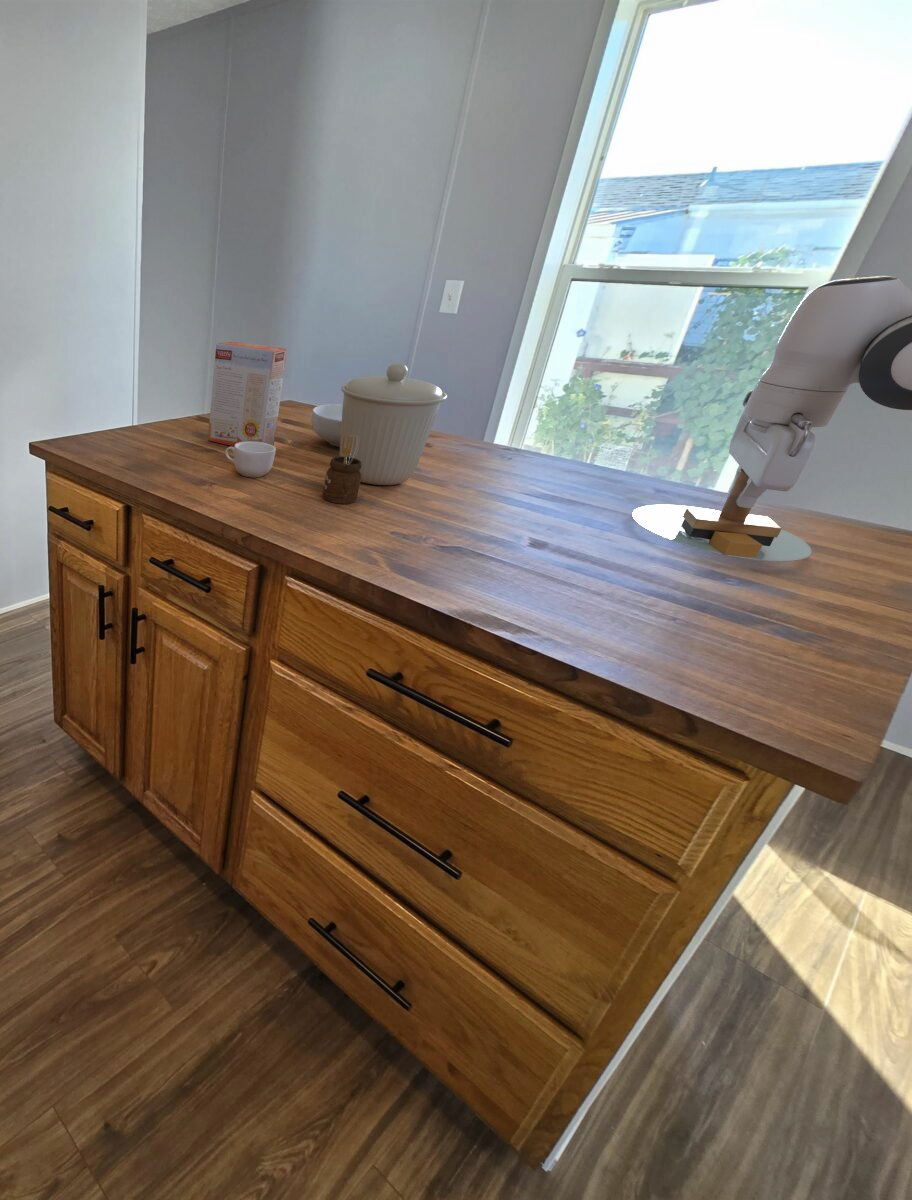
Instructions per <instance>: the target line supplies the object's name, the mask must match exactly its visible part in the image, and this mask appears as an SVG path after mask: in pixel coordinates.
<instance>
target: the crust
mask: <svg viewBox="0 0 912 1200" xmlns="http://www.w3.org/2000/svg"><path fill="white" fill-rule="evenodd" d="M709 544H710V545H712V546H713V547H715V548H716V549H717V550H719V551H720V552H722V553H723V554H725V555H724V556H729V555H736V556H746V557H756V556H757V554H758V553H759V551H760V549H761V547H762V544H760V543H759V542H757V541H756V540H754V539H753V538H751V537H750V536H748V535H746V534H739V533H728V532H717V531H715V532H714V534H713V536H712V538H711V540H710V542H709ZM723 554H722V555H723Z"/></svg>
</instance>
